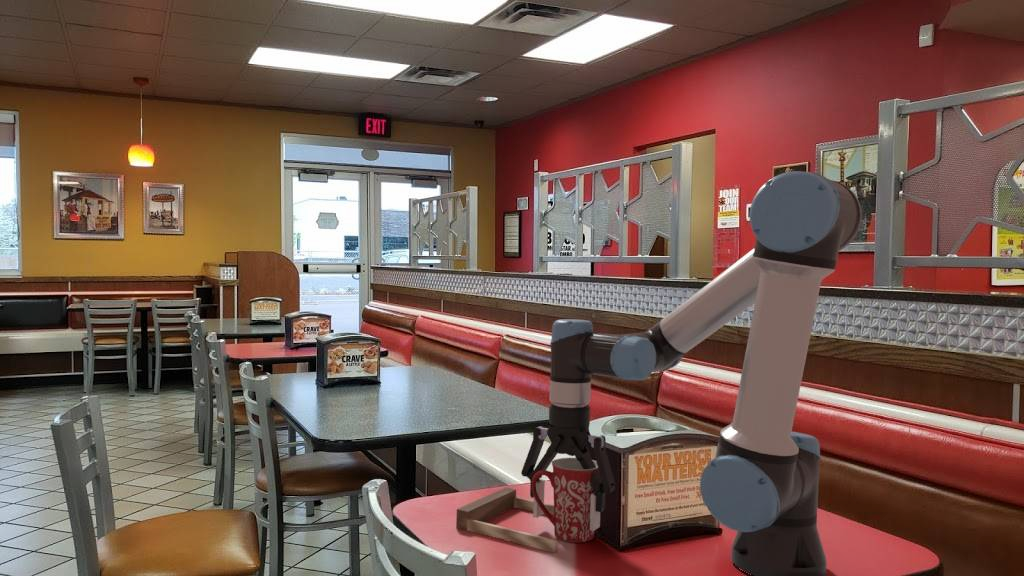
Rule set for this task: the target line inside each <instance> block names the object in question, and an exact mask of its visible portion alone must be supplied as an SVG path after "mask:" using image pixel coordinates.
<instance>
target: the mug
mask: <svg viewBox="0 0 1024 576" xmlns="http://www.w3.org/2000/svg"><path fill="white" fill-rule="evenodd" d="M592 460H593V459H592ZM593 462H594V464H595V466H596V468H593V469H586V470H583V468H582V466H581V464H580V462H579V461H578V460H577V459H576V457H561V458H559V457H558V458H555V459H553V461H552V462H551V465H552V471H549V470H547V469H546V470H540V471H538V472H536V473H535V474H534V476H533V479H532V492H533V495H534V498H535V500H536V502H537V504H538V505H539V507H540V508H541V510H542V511H543V513H544V514H543V515H544V516H546V518H547V519H548V521H549V522H550V523H551V524H552V525H553V530H554V535H555V537H556V538H557V539H559V540H560V541H561V540H562V541H564V542H569V543H586V542H590V541H592V540H593V539H594V537H595V530H594V531H591V530H590V504H591V494H592V493H594V492H595V491H594V489H593V487H592V485H591V483H590V477H591V472H592V473H597V472H599V469H598V465H597V462H596V460H593ZM541 475H542V476H545V477H547V478H548V480H549V482H550V485H551V487H552V489H553V505H554V514H551V513H550V512H549V511H548V510H547V509H546V507H545V506H544V504H543V503H542V501H541V500H540V498H539V496H538V494H537V491H536V481H537V478H538V477H539V476H541ZM534 498H533V499H534Z"/></svg>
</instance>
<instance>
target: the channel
mask: <svg viewBox="0 0 1024 576" xmlns="http://www.w3.org/2000/svg"><path fill="white" fill-rule="evenodd" d="M533 506H534V499H533V500H532V499H528V498H524V497H520V496H519V497H518V496H517V489H516V488H510V487H507V486H506V487H504V488H501V489H499V490H497V491H495V492H492V493H490V494H488V495H486V496H483V497H480V498H479V499H477V500H474V501H472V502H470V503H467V504H465V505H463V506H460V507H458V508H457V509H456V522H455V523H456V524H455V525H456V529H461V530H464V531H468V532H473V533H475V534H480V535H483V534H484V535H483V536H487V535H489V536H488V537H491V536H494V537H493V538H495V537H498V538H503V539H506V540H509V541H508V542H510V541H512V542H511V543H514V542H515V543H514V544H518V545H522V546H525V547H531V548H534V549H537V550H538V549H539V550H540V551H545V552H548V553H552V554H553V553H554V554H555V553H557V552H558V540H556V539H552V538H549V537H546V536H540V535H537V534H532V533H529V532H525V531H520V530H516V529H512V528H509V527H504V526H500V525H496V524H493V523H489V522H487V521H489V520H491V519H493V518H495V517H497V516H499V515H501V514H503V513H505V512H507V511H510V510H511V509H513V508H517V509H520V510H525V511H529V512H533ZM544 506H545V507H546V509H547V510H548V511H549V512H550V513H551V514H554V504H551V503H546V502H544ZM504 511H505V512H504ZM502 512H503V513H502ZM500 513H501V514H500ZM498 514H499V515H498ZM496 515H497V516H496ZM494 516H495V517H494ZM492 517H493V518H492ZM490 518H491V519H490ZM488 519H489V520H488ZM486 520H487V521H486ZM498 538H497V539H498ZM506 540H505V541H506Z"/></svg>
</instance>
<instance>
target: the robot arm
mask: <svg viewBox="0 0 1024 576" xmlns="http://www.w3.org/2000/svg"><path fill="white" fill-rule="evenodd" d="M862 220H863V210H862V206H861V203H860V201H859V198H858V196H857V195H856V194H855V192H854V191H852V189H851V188H849V187H848V186H847V185H845V184H843V183H842V182H841V183H840V182H838V181H836V180H833V179H832V180H831V179H830V178H827V177H825V176H823V175H822V174H819V173H816V172H810V171H799V170H797V171H796V170H795V171H787V172H783V173H780V174H778V175H776V176H773V177H772V178H771V179H769V180H768V181H766V182H765V183H764V184H763V185H762V186H761V187H760V188H759V190H757V192H756V194H755V196H754V197H753V199H752V202H751V204H750V209H749V224H750V227H751V230H752V232H753V234H754V236H755V243H754V247H753V248H752V249H750V251H748V252H747V253H746V254H744V255H743V256H742V257H740V258H739V259H738V260H737V261H736V262H734V263H733V264H732V265H730V266H729V267H727V268H726V269H725V270H724V271H722V272H721V273H720V274H719V275H717V276H716V277H715V278H714V279H712V280H711V281H710V282H708V283H707V284H706V285H705V286H703V287H702V288H701V289H699V290H698V291H697V292H695V293H694V294H693V295H692V296H691V297H689V298H687V299H686V300H685V301H684V302H683V303H681V304H680V305H678V306H677V307H676V308H674V309H673V310H672V311H671V312H670V313H668V314H666V316H664V317H663V318H662V319H661V320H660V321H659V322H657V323H656V324H654V325H653V326H652V327H650V328H649V329H647V331H642V332H635V333H625V334H624V333H623V334H622V333H621V334H613V333H612V334H610V333H601V332H600V333H599V332H595V331H594V325H593V323H592V321H590V320H585V319H575V318H574V319H573V318H571V319H570V318H569V319H568V318H566V319H565V318H564V319H563V318H561V319H557V320H555V321H554V322H553V323H552V330H551V340H550V377H549V378H550V381H549V397H548V398H549V401H550V402H551V403H550V404H549V407H548V422H549V425H548V426H549V427H548V428H547V427H545V426H544V425H541V426H537V427H535V428H533V429H532V435H533V436H532V442H531V445H530V447H529V450H528V453H527V456H526V458H525V460H524V461H525V462H524V464H523V466H522V470H521V473H520V474H521V476H523V477H526V478H527V479H529V481H530V486H529V488H530V489H529V490H530V491H529V494H530V495H529V496H530V498H532V499H533V501H534V506H533V511H532V516H533V517H532V518H538V517H541V516H543V515H545V514H544V513H543V511H542V510H541V508H540V507H539V505H538V504H537V502H536V500H535V498H534V495H533V492H532V479H533V476H534V474H535V473H536V472H538V471H540V470H547V469H548V468H549V466H550V465H551V464H552V461H554V460H555V459H556V456H557V455H558V454H560V455H564V454H565V455H568V456H571V457H574V458H576V459H577V460H578V461H579V462H580V464H581V466H582V468H583V470H586V469H593V468H596V466H595V464H594V462H593V459H592V456H591V452H590V450H589V448H588V446H587V445H588V444H589V443H590V447H591V448H593V454H594V459H595V461H596V462H597V465H598V469H599V472H597V473H592V472H591V477H590V483H591V485H592V487H593V489H594V491H595V492H594V493H592V494H591V504H590V530H591V531H594V532H595V531H596V530H597V529H599V528H600V527H601V513H602V512H603V511H604V510H605V508H606V494H610V493H612V492H613V491H615V490H616V489H615V485H616V481H615V477H614V475H613V472H612V467H611V463H610V460H609V457H608V453H607V450H606V436H605V435H603V434H602V435H599V436H598V435H592V434H591V432H590V423H591V422H590V421H591V420H590V418H591V407H590V406H589V403H590V402H591V389H592V384H591V382H592V375H593V376H595V375H596V376H602V377H607V378H608V377H609V378H610V377H611V378H616V379H622V380H624V381H630V380H631V381H644V380H647V379H648V378H649V376H650V375H651V374H652V373H655V372H657V373H658V372H666V371H669V370H670V369H672V368H674V367H676V366H678V365H679V363H680V362H681V361H682V359H683V356H684V355H685V354H686V353H688V352H689V351H690V350H692V349H693V348H694V347H696V346H698V344H699V345H700V344H701V342H703V341H705V340H706V339H707V338H708V337H710V336H711V335H713V334H714V333H716V332H717V331H718V330H720V329H721V328H722V327H724V326H726V325H727V324H728V323H730V321H732V320H733V319H735V318H736V317H738V316H739V315H741V314H742V313H743V312H745V311H746V310H747V309H749V308H750V307H751V306H753V305H754V306H753V312H752V317H751V322H750V328H749V332H748V336H747V337H748V338H747V344H746V349H745V352H744V360H743V365H742V371H741V376H740V381H739V386H738V392H737V396H736V401H735V407H734V408H735V409H734V413H733V419H732V422H731V423H730V424H728V425H726V426H725V427H723V428H721V429H720V432H719V437H718V442H717V448H716V453H715V457H714V458H713V459H711V460H710V461H709V462H708V463H707V465H706V466H705V468H704V469H703V470H702V472H701V476H700V480H699V489H700V495H701V499H702V501H703V504H704V506H705V507H706V508H707V510H708V511H709V513H710V515H712V516H711V517H713V518H714V519H715V520H716V521H717V522H718V523H720V524H721V525H722V526H724V527H726V528H728V529H730V530H733V531H736V535H735V538H734V539H733V542H732V545H731V554H730V555H731V556H730V560H732V561H731V563H732V562H733V563H734V564H735V566H737V567H738V568H740V569H742V570H743V571H745V572H747V573H749V574H751V575H754V576H825V575H826V576H827V564H828V563H827V557H826V554H825V551H824V548H823V547H824V546H823V543H822V541H821V537H820V534H819V530H818V523H817V522H818V505H819V504H818V501H819V481H820V461H821V459H822V457H821V456H822V455H821V449H820V448H821V447H820V442H819V440H818V439H817V438H816V437H815V436H813V435H810V434H808V433H807V434H806V433H802V432H796V431H792V430H793V426H794V420H795V415H796V411H797V407H798V400H799V395H800V389H801V386H802V380H803V376H804V369H805V364H806V360H807V355H808V349H809V344H810V339H811V335H812V331H813V330H812V329H813V326H814V325H813V324H814V319H815V314H816V309H817V305H818V299H819V294H820V289H821V285H822V281H823V280H824V279H825V278H827V277H828V276H830V275H831V274H833V273H834V272H835V271H836V267H837V262H838V255H839V253H840V251H843V250H844V249H845V248H846V247H848V246H849V245H850V244H851V243H852V242H853V241H854V239H855V238H856V237H857V235H858V232H859V231H860V229H861V225H862V223H863V221H862ZM547 437H548V439H549V441H550V442H551V443H550V445H548V448H547V449H546V451H545V453H544V455H543V456H542V458H541V459H540V460H539V462H538V459H539V456H540V454H541V451H542V448H543V445H544V444H545V443H544V442H545V439H547ZM542 478H543V475H541V476H539V477H538V478H537V481H536V491H537V494H538V496H539V498H540V500H541V501H542V503H543V504H544V503H545V488H546V487H545V486H546V485H545V481H546V480H545V479H542ZM614 489H615V490H614ZM733 563H732V564H733ZM735 566H734V567H735ZM737 567H736V568H737ZM738 568H737V569H738ZM743 571H742V572H743ZM749 574H748V575H749ZM751 575H750V576H751Z"/></svg>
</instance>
